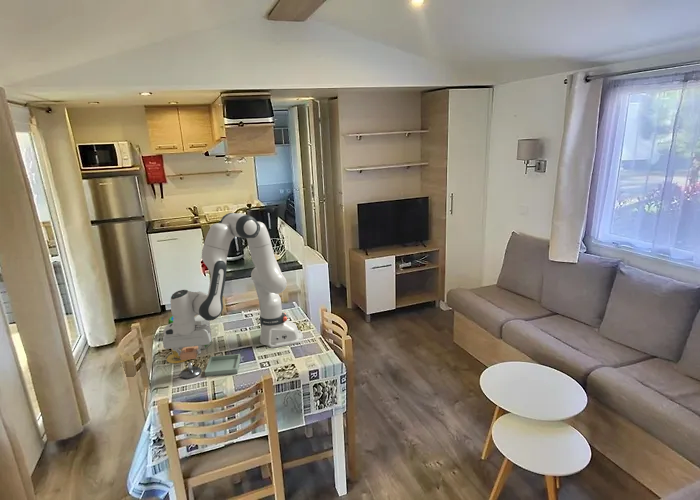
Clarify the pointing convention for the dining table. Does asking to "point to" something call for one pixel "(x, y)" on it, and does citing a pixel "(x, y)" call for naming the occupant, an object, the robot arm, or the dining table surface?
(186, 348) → the orange hollow square block
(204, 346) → the grey tall box
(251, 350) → the dining table surface
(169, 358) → the cup
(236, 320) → the dining table surface
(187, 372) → the silver knobbed lid
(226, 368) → the tray
